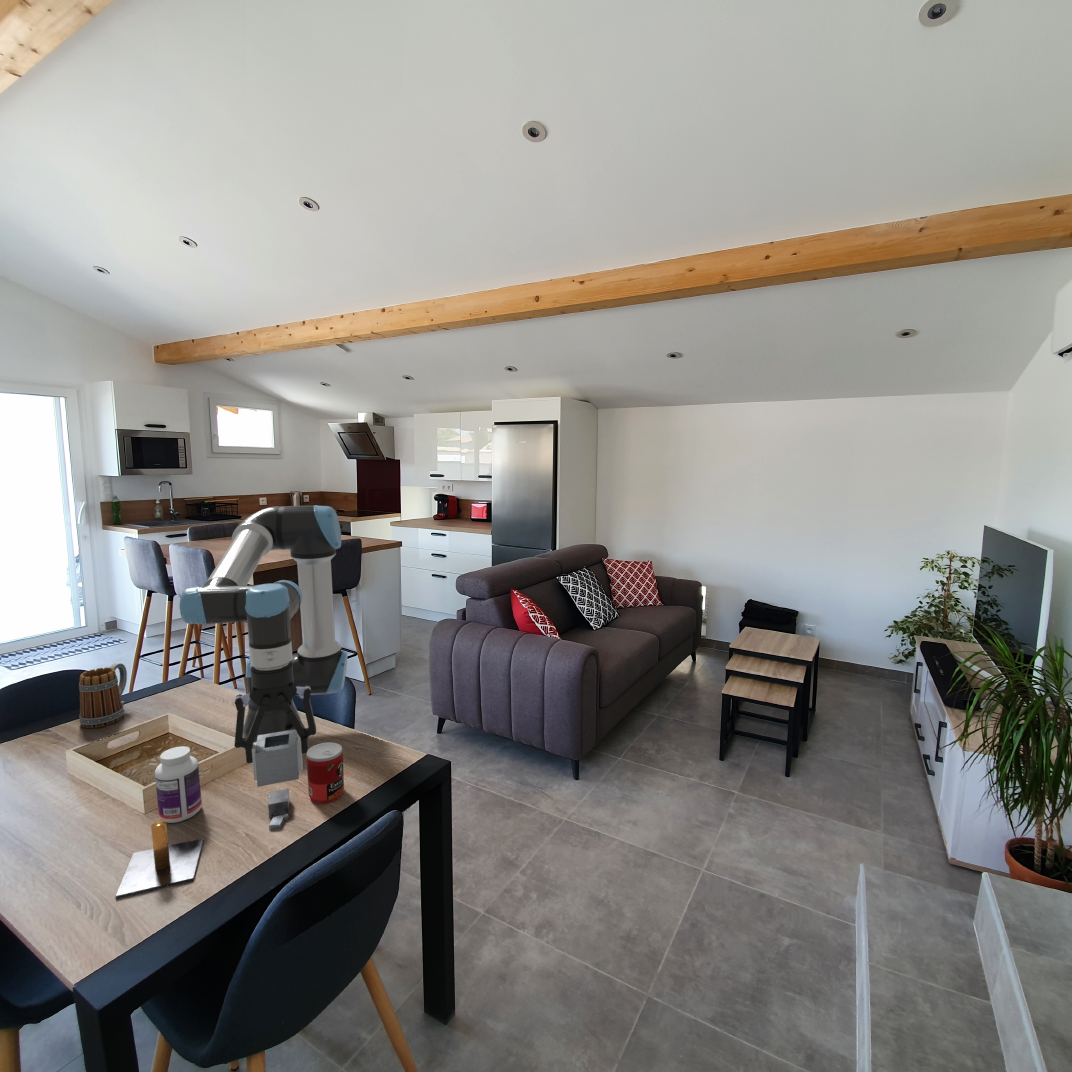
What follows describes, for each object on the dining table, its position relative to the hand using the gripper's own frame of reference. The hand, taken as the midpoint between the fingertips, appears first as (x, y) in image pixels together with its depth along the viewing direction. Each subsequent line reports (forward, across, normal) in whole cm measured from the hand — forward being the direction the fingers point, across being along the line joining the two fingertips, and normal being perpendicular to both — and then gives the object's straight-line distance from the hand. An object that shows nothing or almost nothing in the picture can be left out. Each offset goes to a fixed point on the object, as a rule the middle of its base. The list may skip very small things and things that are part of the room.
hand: (278, 771), depth 116 cm
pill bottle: (+15, -21, +17) cm, 31 cm away
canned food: (+15, +9, +13) cm, 22 cm away
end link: (0, 0, 0) cm, 0 cm away
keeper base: (+15, -21, -1) cm, 26 cm away
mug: (+16, -50, +79) cm, 95 cm away
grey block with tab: (+15, -1, +8) cm, 17 cm away
